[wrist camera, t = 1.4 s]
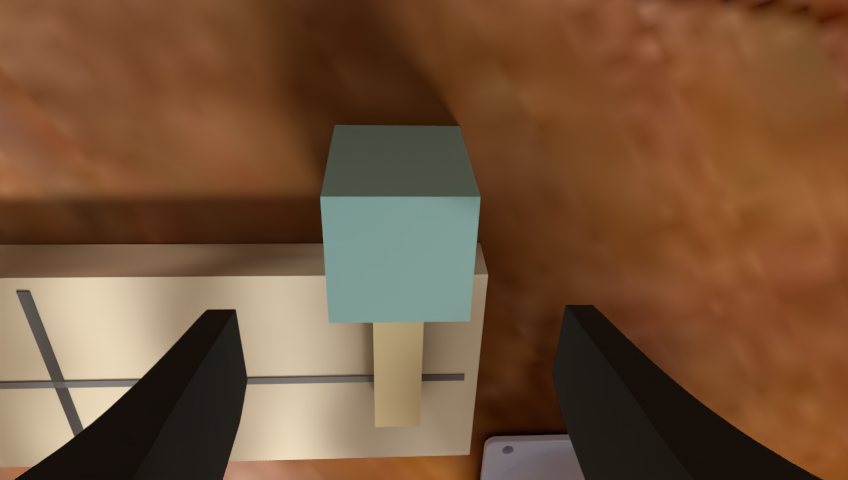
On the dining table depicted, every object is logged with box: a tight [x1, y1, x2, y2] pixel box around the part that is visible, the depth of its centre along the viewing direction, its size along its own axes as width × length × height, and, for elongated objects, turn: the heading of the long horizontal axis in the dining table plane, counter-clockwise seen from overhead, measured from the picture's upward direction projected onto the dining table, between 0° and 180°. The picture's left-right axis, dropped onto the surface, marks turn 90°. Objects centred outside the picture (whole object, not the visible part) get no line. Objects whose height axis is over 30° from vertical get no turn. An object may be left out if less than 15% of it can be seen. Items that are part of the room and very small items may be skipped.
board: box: [0, 243, 488, 467], centre depth 22 cm, size 19×9×2 cm, turn 88°
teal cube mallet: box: [320, 125, 481, 427], centre depth 20 cm, size 4×10×5 cm, turn 178°
